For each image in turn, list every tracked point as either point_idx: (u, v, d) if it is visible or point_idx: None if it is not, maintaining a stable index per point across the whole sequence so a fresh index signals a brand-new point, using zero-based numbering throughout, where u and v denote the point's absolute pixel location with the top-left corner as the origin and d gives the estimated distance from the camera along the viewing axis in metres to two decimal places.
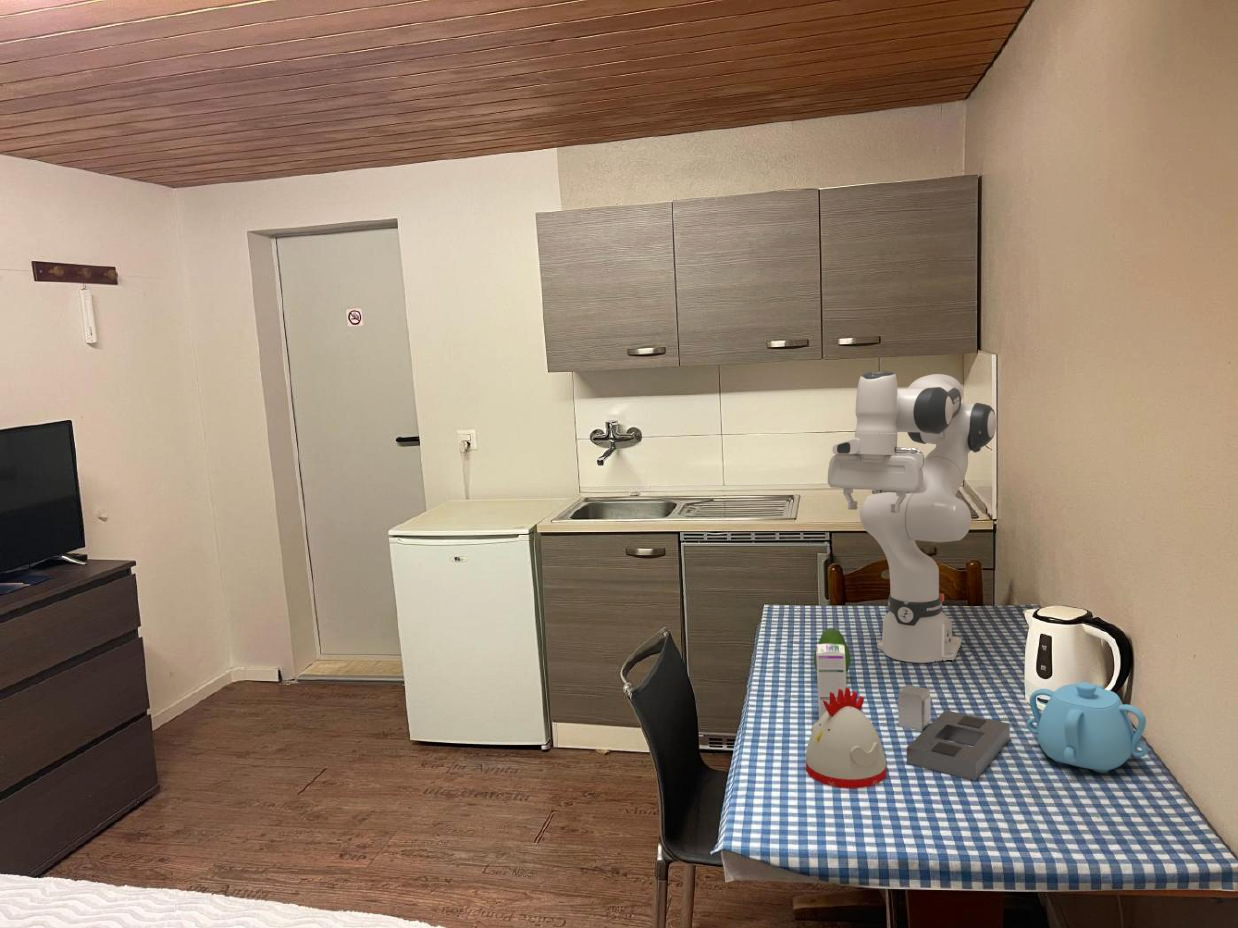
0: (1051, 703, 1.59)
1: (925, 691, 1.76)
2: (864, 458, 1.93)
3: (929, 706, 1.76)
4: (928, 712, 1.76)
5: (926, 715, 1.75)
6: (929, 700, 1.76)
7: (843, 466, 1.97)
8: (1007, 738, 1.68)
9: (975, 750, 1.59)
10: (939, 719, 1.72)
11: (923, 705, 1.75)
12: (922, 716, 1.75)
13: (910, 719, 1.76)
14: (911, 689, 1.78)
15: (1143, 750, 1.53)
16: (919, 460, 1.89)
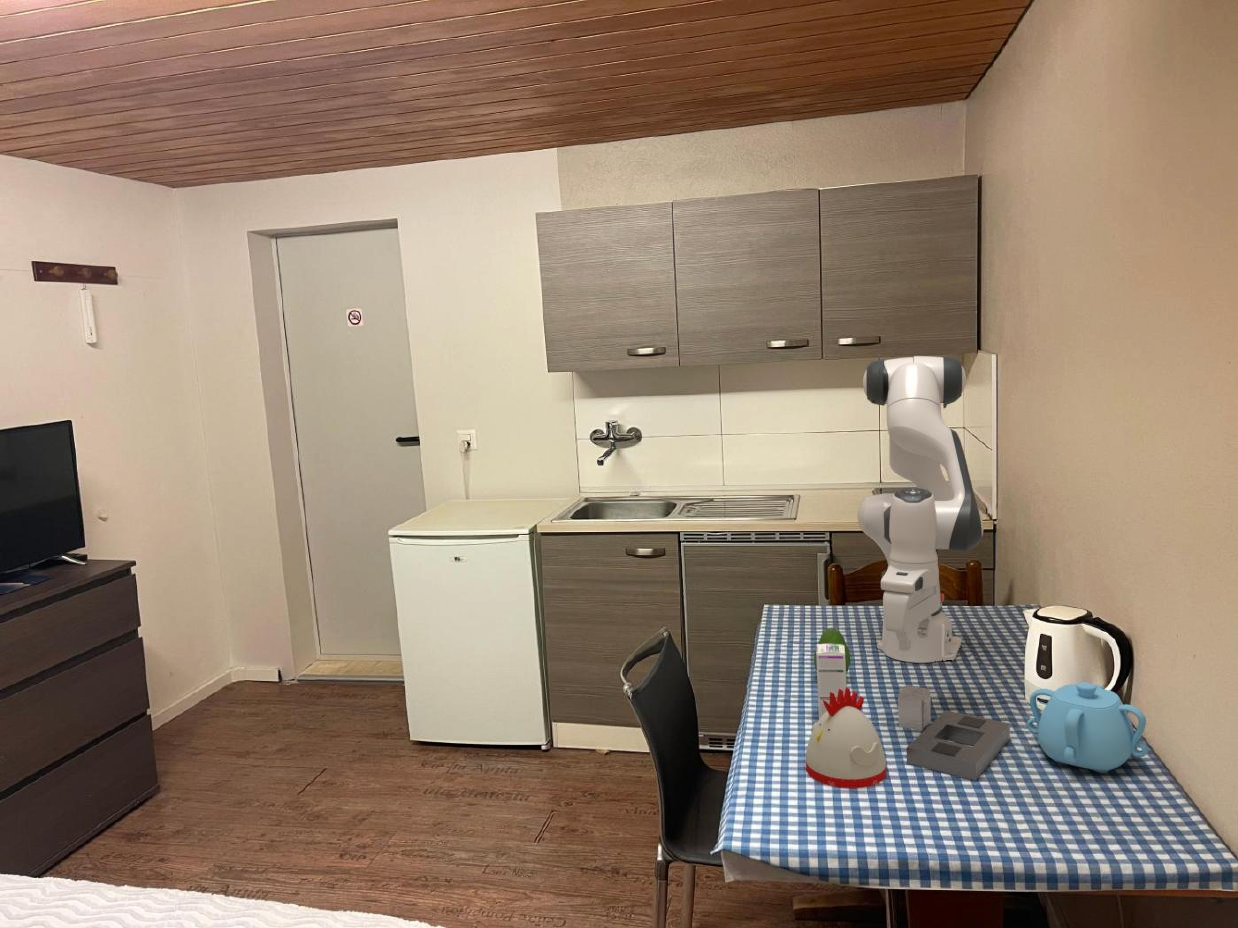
0: (1051, 703, 1.59)
1: (925, 691, 1.76)
2: (925, 589, 1.72)
3: (929, 706, 1.76)
4: (928, 712, 1.76)
5: (926, 715, 1.75)
6: (929, 700, 1.76)
7: (908, 604, 1.69)
8: (1007, 738, 1.68)
9: (975, 750, 1.59)
10: (939, 719, 1.72)
11: (923, 705, 1.75)
12: (922, 716, 1.75)
13: (910, 719, 1.76)
14: (911, 689, 1.78)
15: (1143, 750, 1.53)
16: None
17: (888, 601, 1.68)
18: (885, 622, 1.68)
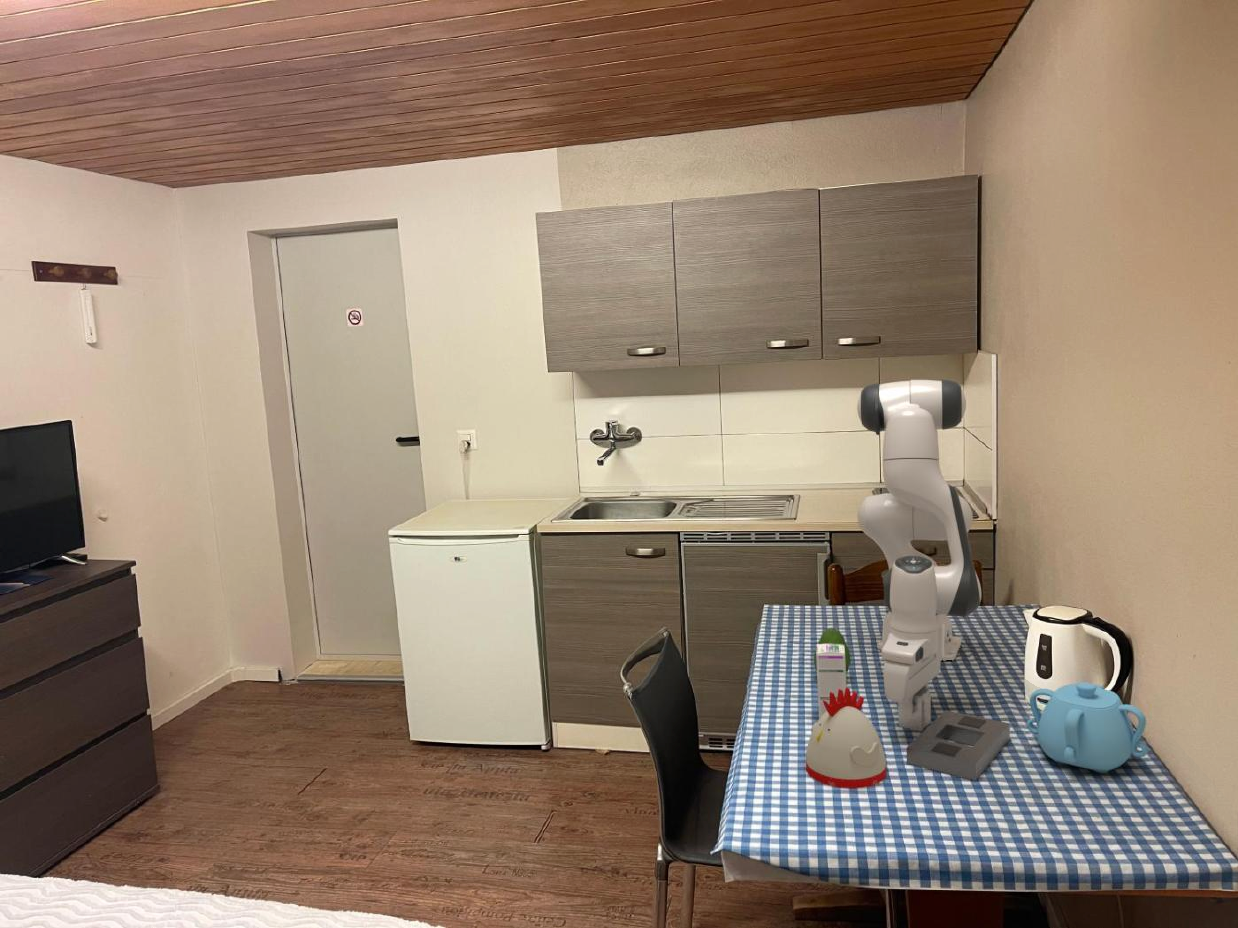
0: (1051, 703, 1.59)
1: (925, 691, 1.76)
2: (925, 657, 1.73)
3: (929, 706, 1.76)
4: (928, 712, 1.76)
5: (926, 715, 1.75)
6: (929, 700, 1.76)
7: None
8: (1007, 738, 1.68)
9: (975, 750, 1.59)
10: (939, 719, 1.72)
11: (923, 705, 1.75)
12: (922, 716, 1.75)
13: (910, 719, 1.76)
14: None
15: (1143, 750, 1.53)
16: None
17: (889, 671, 1.70)
18: (886, 692, 1.70)
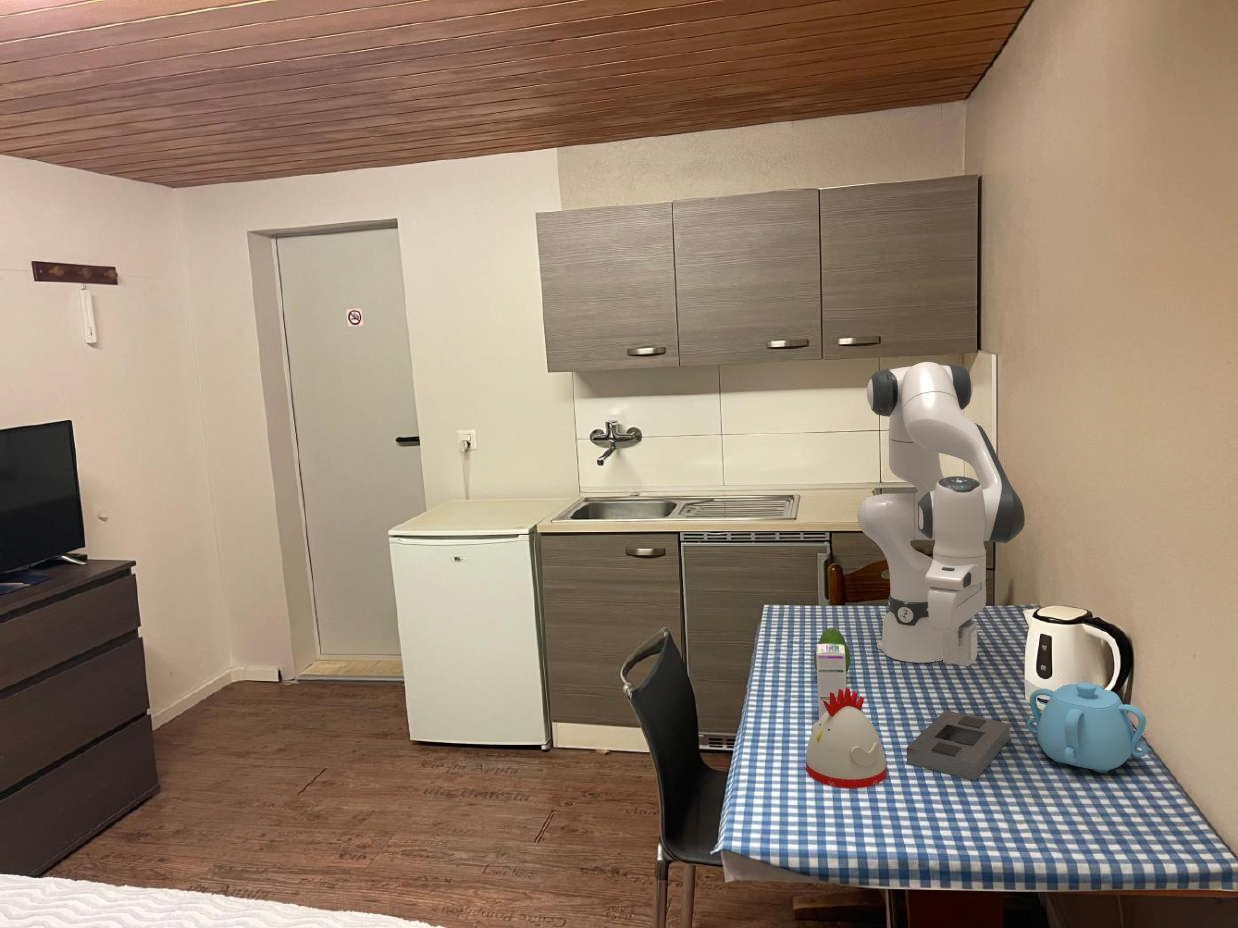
0: (1051, 703, 1.59)
1: (971, 623, 1.62)
2: (973, 585, 1.59)
3: (976, 639, 1.62)
4: (975, 646, 1.62)
5: (973, 649, 1.61)
6: (976, 633, 1.62)
7: None
8: (1007, 738, 1.68)
9: (975, 750, 1.59)
10: (939, 719, 1.72)
11: (970, 637, 1.60)
12: (969, 650, 1.60)
13: (955, 654, 1.61)
14: None
15: (1143, 750, 1.53)
16: None
17: (933, 599, 1.55)
18: (930, 621, 1.56)
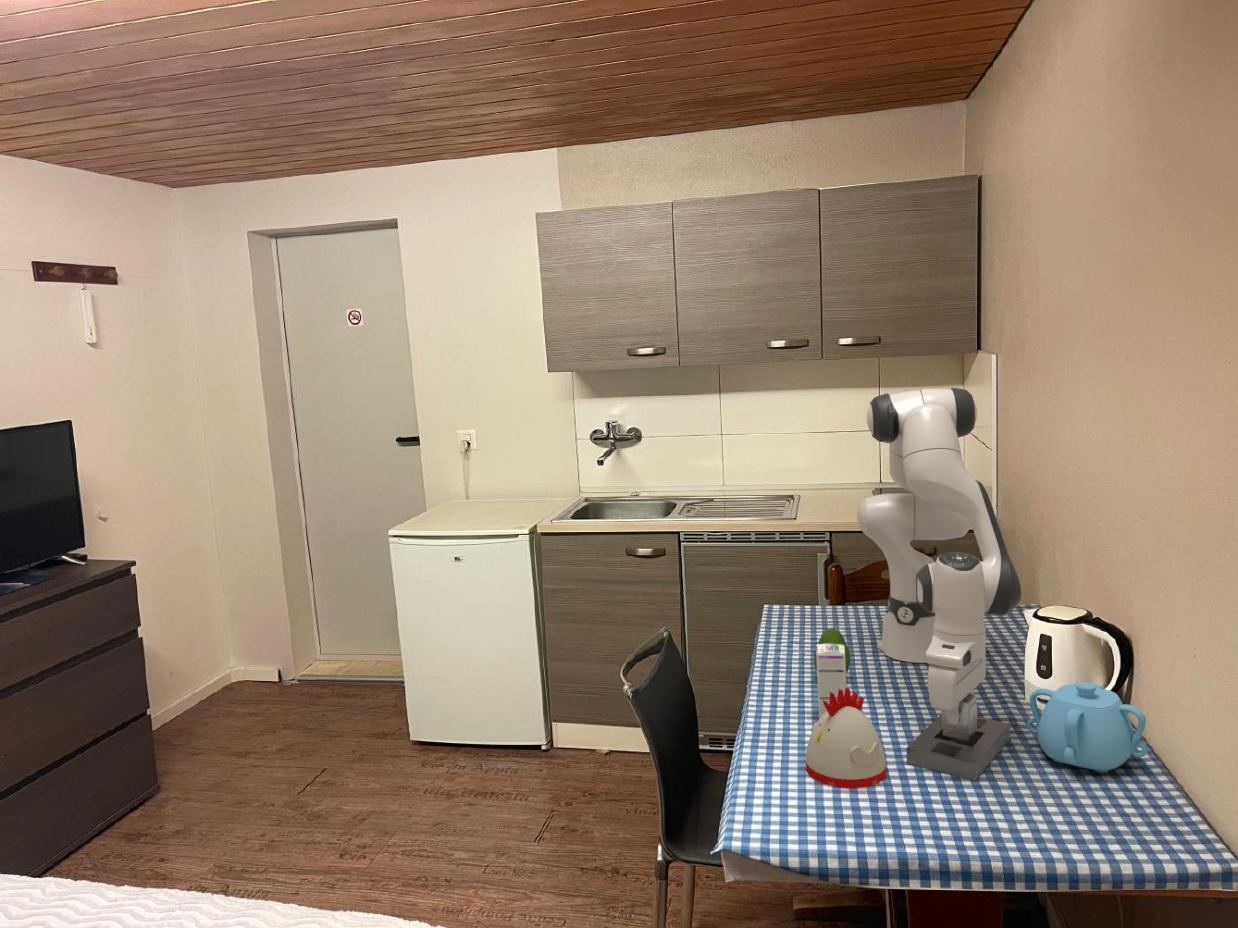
0: (1051, 703, 1.59)
1: (971, 698, 1.64)
2: (972, 662, 1.61)
3: (975, 714, 1.64)
4: (974, 720, 1.63)
5: (973, 723, 1.62)
6: (975, 707, 1.63)
7: None
8: (1007, 738, 1.68)
9: (975, 750, 1.59)
10: (939, 719, 1.72)
11: (970, 713, 1.62)
12: (968, 725, 1.62)
13: (955, 728, 1.63)
14: None
15: (1143, 750, 1.53)
16: None
17: (934, 677, 1.57)
18: (930, 699, 1.57)
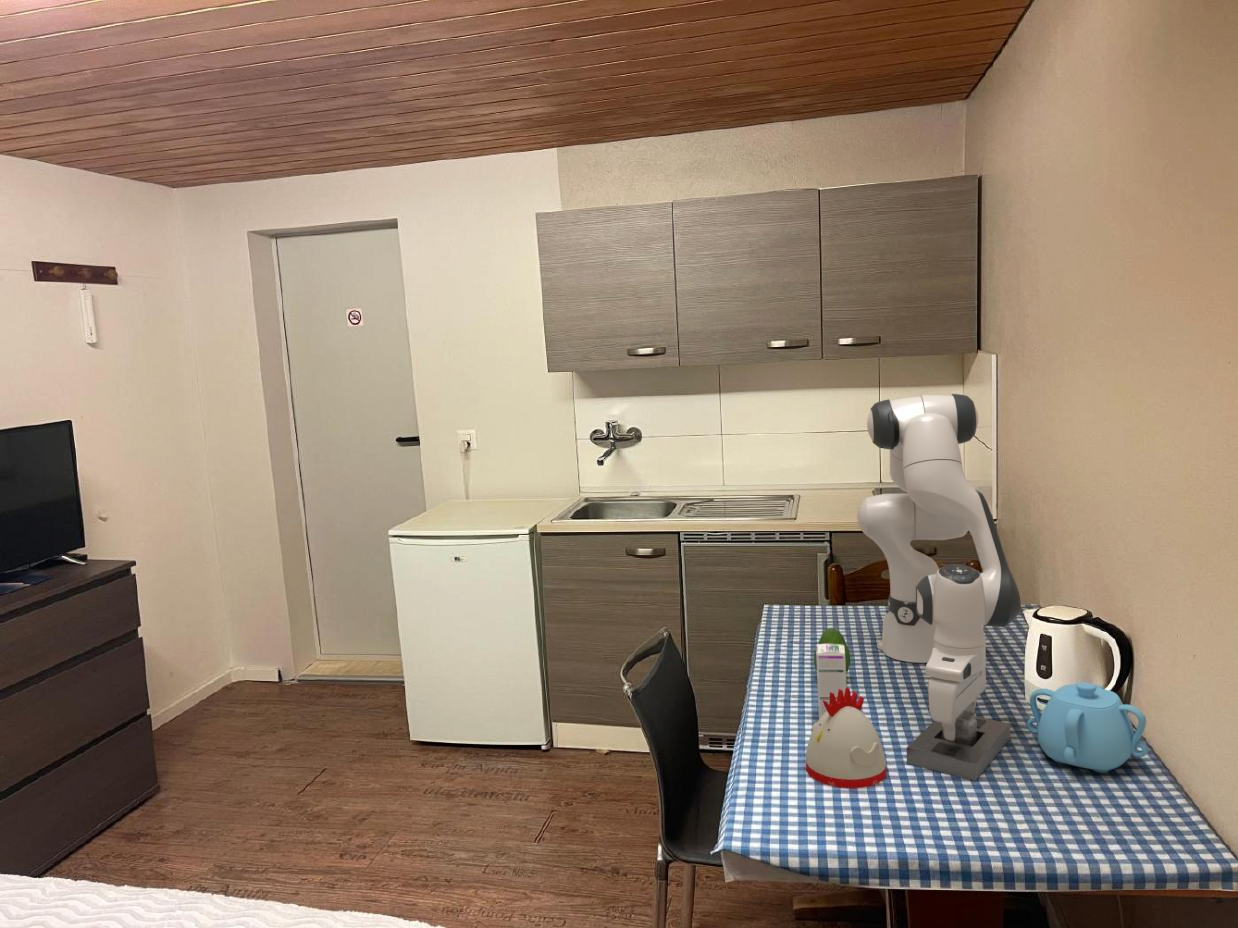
0: (1051, 703, 1.59)
1: (971, 715, 1.64)
2: (972, 674, 1.61)
3: (975, 731, 1.64)
4: (974, 738, 1.64)
5: (973, 741, 1.63)
6: (975, 725, 1.64)
7: None
8: (1007, 738, 1.68)
9: (975, 750, 1.59)
10: None
11: (969, 730, 1.62)
12: (968, 742, 1.62)
13: None
14: None
15: (1143, 750, 1.53)
16: None
17: (934, 690, 1.57)
18: (931, 712, 1.58)
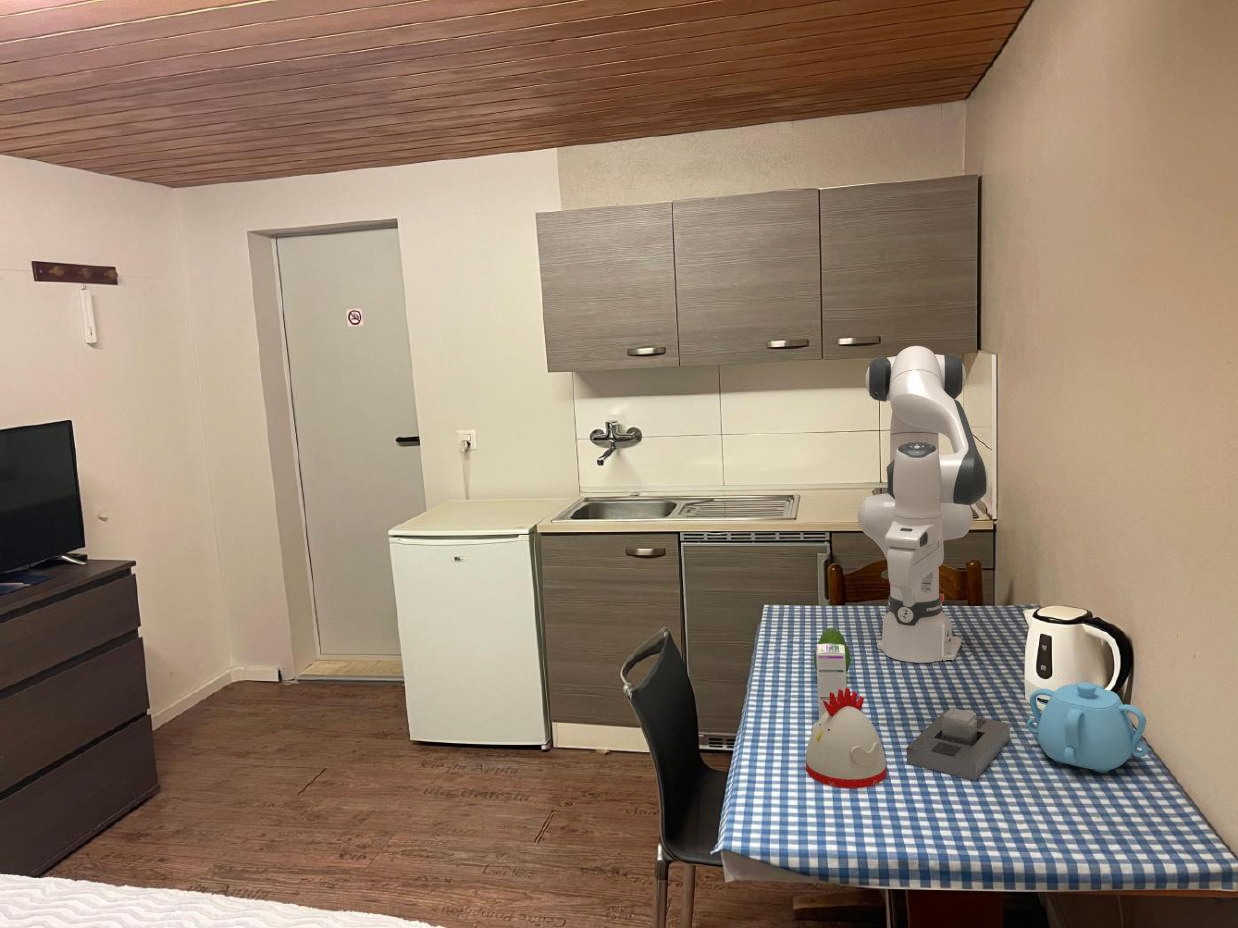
0: (1051, 703, 1.59)
1: (971, 715, 1.64)
2: (929, 544, 1.70)
3: (975, 731, 1.64)
4: (974, 738, 1.64)
5: (973, 741, 1.63)
6: (975, 725, 1.64)
7: None
8: (1007, 738, 1.68)
9: (975, 750, 1.59)
10: (939, 719, 1.72)
11: (970, 730, 1.62)
12: (968, 742, 1.62)
13: None
14: (956, 713, 1.65)
15: (1143, 750, 1.53)
16: None
17: (892, 558, 1.66)
18: (890, 578, 1.67)
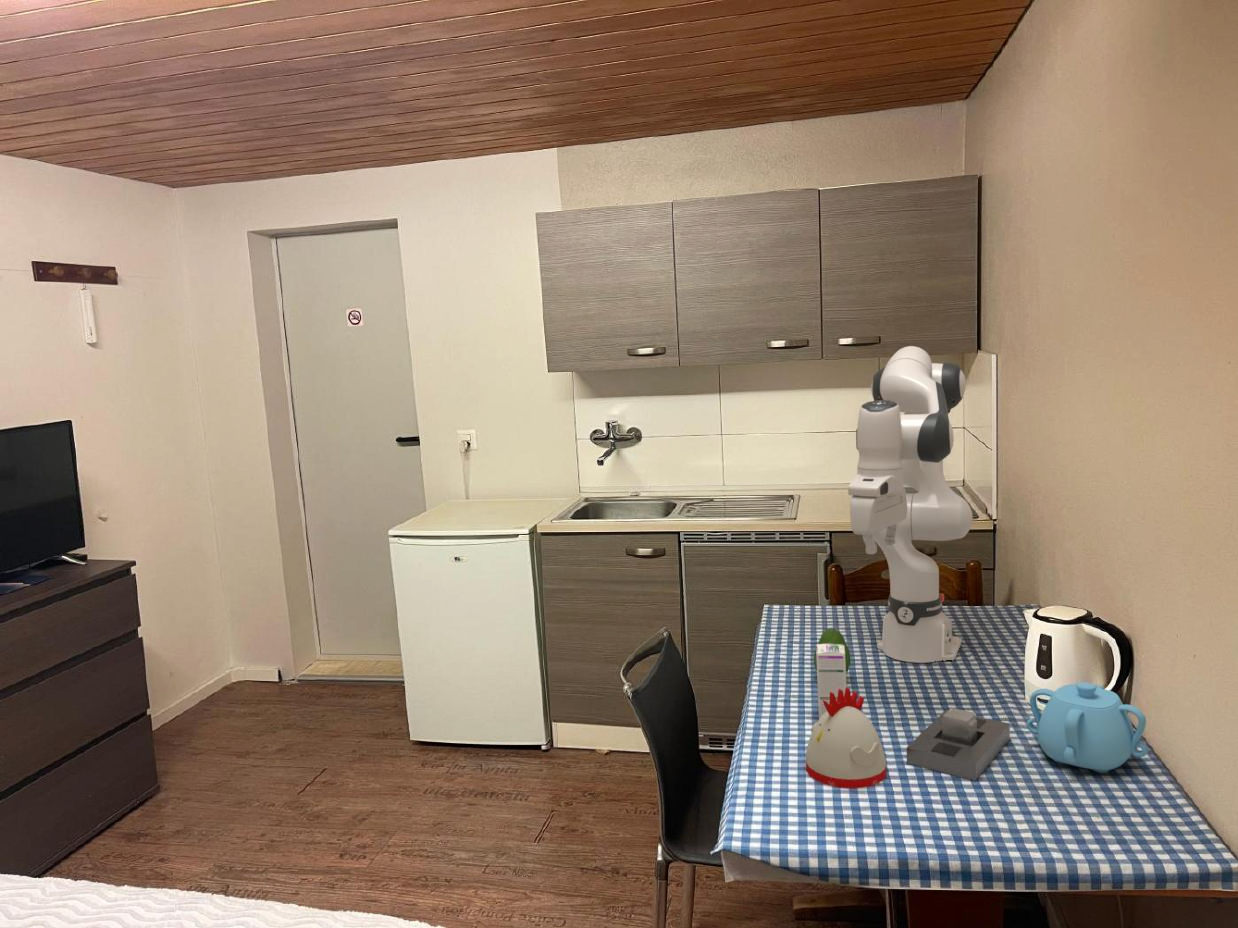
0: (1051, 703, 1.59)
1: (971, 715, 1.64)
2: (891, 495, 1.80)
3: (975, 731, 1.64)
4: (974, 738, 1.64)
5: (973, 741, 1.63)
6: (975, 725, 1.64)
7: (874, 508, 1.77)
8: (1007, 738, 1.68)
9: (975, 750, 1.59)
10: (939, 719, 1.72)
11: (970, 730, 1.62)
12: (968, 742, 1.62)
13: None
14: (956, 713, 1.65)
15: (1143, 750, 1.53)
16: None
17: (855, 505, 1.76)
18: (852, 525, 1.77)
